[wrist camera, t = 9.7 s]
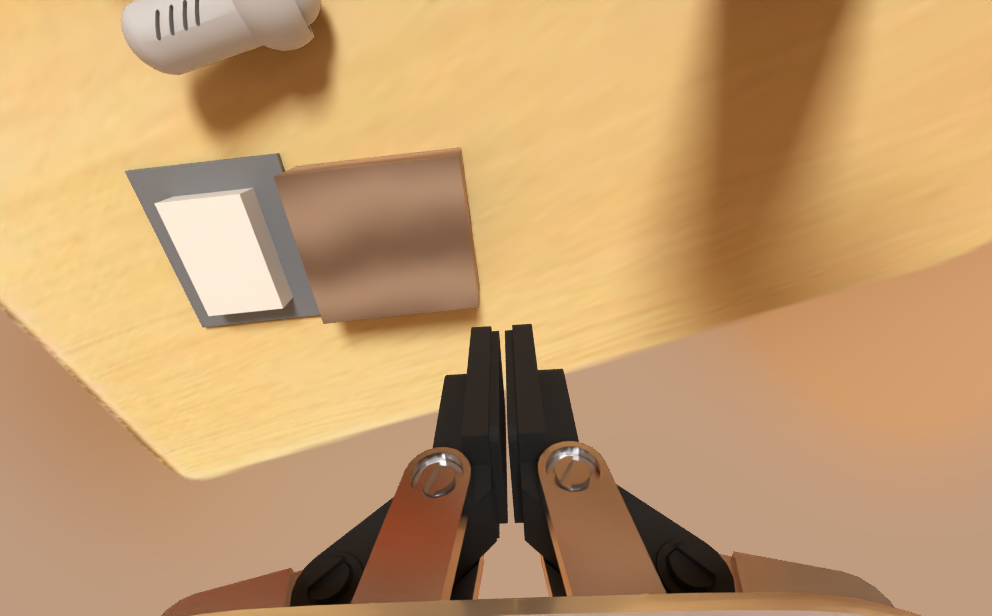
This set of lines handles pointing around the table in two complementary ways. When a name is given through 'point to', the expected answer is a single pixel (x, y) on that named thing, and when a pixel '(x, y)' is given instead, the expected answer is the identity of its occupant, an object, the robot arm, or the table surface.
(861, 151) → the table surface
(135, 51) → the clip-on lamp
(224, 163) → the mat
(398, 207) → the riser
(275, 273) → the tile
